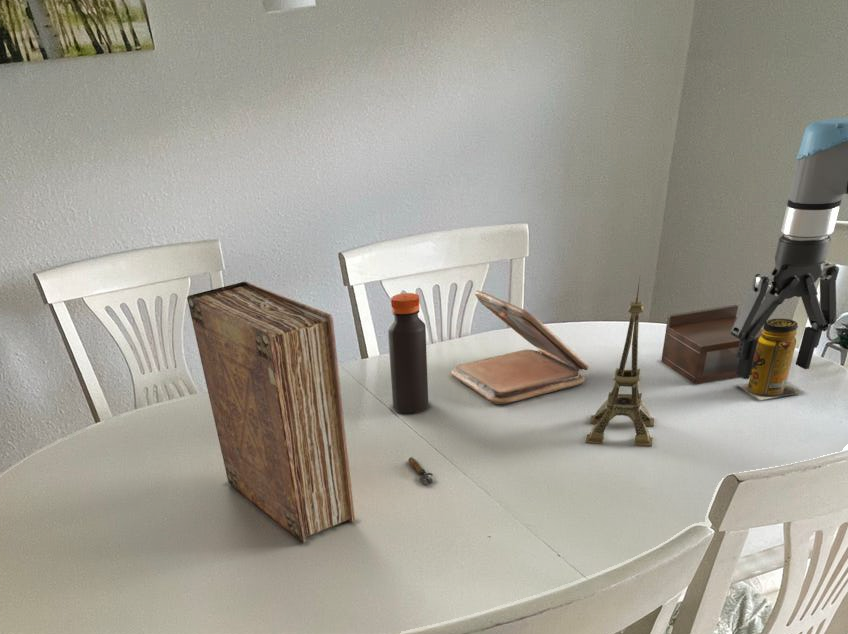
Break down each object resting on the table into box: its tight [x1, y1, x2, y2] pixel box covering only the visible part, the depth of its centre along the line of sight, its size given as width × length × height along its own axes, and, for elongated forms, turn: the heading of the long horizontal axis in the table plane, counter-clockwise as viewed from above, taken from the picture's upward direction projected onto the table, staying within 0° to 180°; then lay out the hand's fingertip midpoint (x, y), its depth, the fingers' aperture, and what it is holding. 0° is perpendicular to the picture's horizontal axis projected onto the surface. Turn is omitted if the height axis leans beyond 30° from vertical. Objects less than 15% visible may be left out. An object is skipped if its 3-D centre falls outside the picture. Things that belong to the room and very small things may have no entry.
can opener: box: [407, 457, 434, 486], centre depth 127 cm, size 9×2×1 cm, turn 14°
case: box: [451, 290, 590, 405], centre depth 149 cm, size 20×21×16 cm
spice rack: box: [660, 304, 763, 385], centre depth 148 cm, size 13×14×9 cm
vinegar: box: [387, 292, 429, 415], centre depth 142 cm, size 7×7×20 cm
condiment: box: [737, 318, 805, 401], centre depth 137 cm, size 7×8×12 cm
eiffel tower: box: [585, 276, 655, 447], centre depth 125 cm, size 11×11×25 cm
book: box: [186, 281, 356, 545], centre depth 114 cm, size 25×9×30 cm, turn 34°
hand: (772, 371), depth 138 cm, fingers open, 11 cm apart
